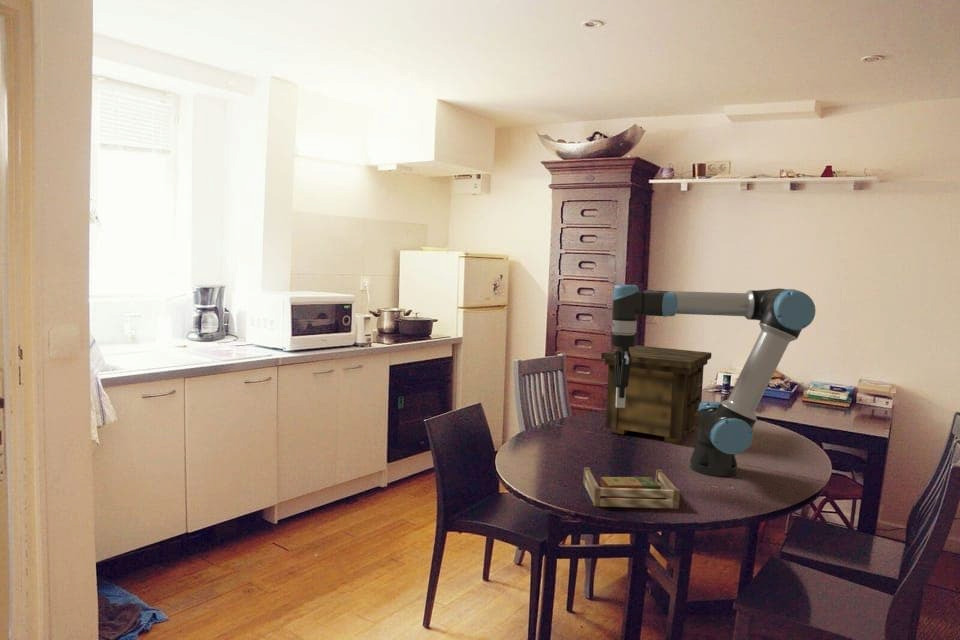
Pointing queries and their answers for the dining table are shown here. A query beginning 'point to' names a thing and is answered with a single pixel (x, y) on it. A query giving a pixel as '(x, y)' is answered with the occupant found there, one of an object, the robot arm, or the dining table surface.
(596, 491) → the slatted wooden tray
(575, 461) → the dining table surface
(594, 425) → the dining table surface
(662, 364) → the crate
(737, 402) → the robot arm
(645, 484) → the carton
